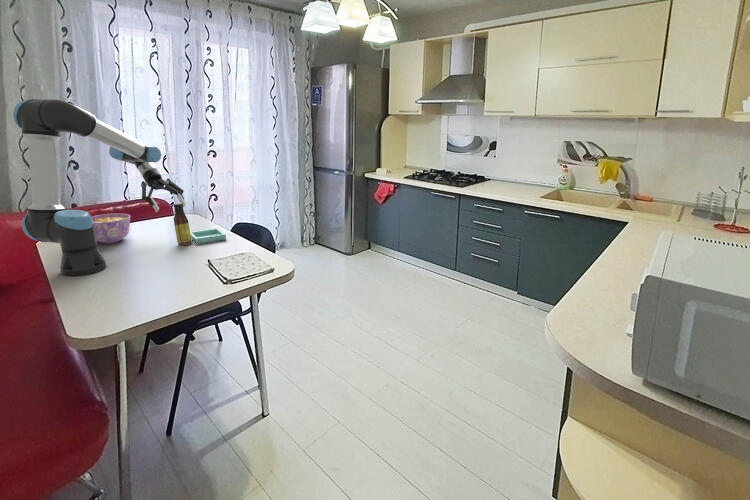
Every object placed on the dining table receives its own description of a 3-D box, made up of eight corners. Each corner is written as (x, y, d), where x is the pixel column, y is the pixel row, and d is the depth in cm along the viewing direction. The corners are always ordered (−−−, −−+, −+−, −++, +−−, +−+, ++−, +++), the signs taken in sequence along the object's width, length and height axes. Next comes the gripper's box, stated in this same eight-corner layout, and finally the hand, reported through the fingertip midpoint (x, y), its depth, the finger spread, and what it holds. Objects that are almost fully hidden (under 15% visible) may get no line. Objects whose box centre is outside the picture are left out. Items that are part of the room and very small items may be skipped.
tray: (226, 240, 210) (225, 234, 209) (196, 244, 202) (195, 238, 201) (218, 233, 221) (217, 228, 220) (189, 238, 213) (189, 232, 212)
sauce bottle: (194, 242, 206) (189, 202, 200) (187, 246, 200) (182, 204, 194) (181, 242, 206) (176, 201, 200) (174, 245, 200) (168, 204, 194)
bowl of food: (119, 247, 197) (114, 223, 194) (76, 246, 198) (71, 222, 194) (142, 235, 216) (138, 213, 213) (103, 235, 217) (99, 213, 213)
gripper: (172, 175, 219) (192, 208, 215) (121, 181, 199) (143, 217, 196) (176, 166, 214) (197, 199, 211) (125, 171, 195) (147, 207, 191)
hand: (171, 207), depth 203 cm, fingers open, 13 cm apart
